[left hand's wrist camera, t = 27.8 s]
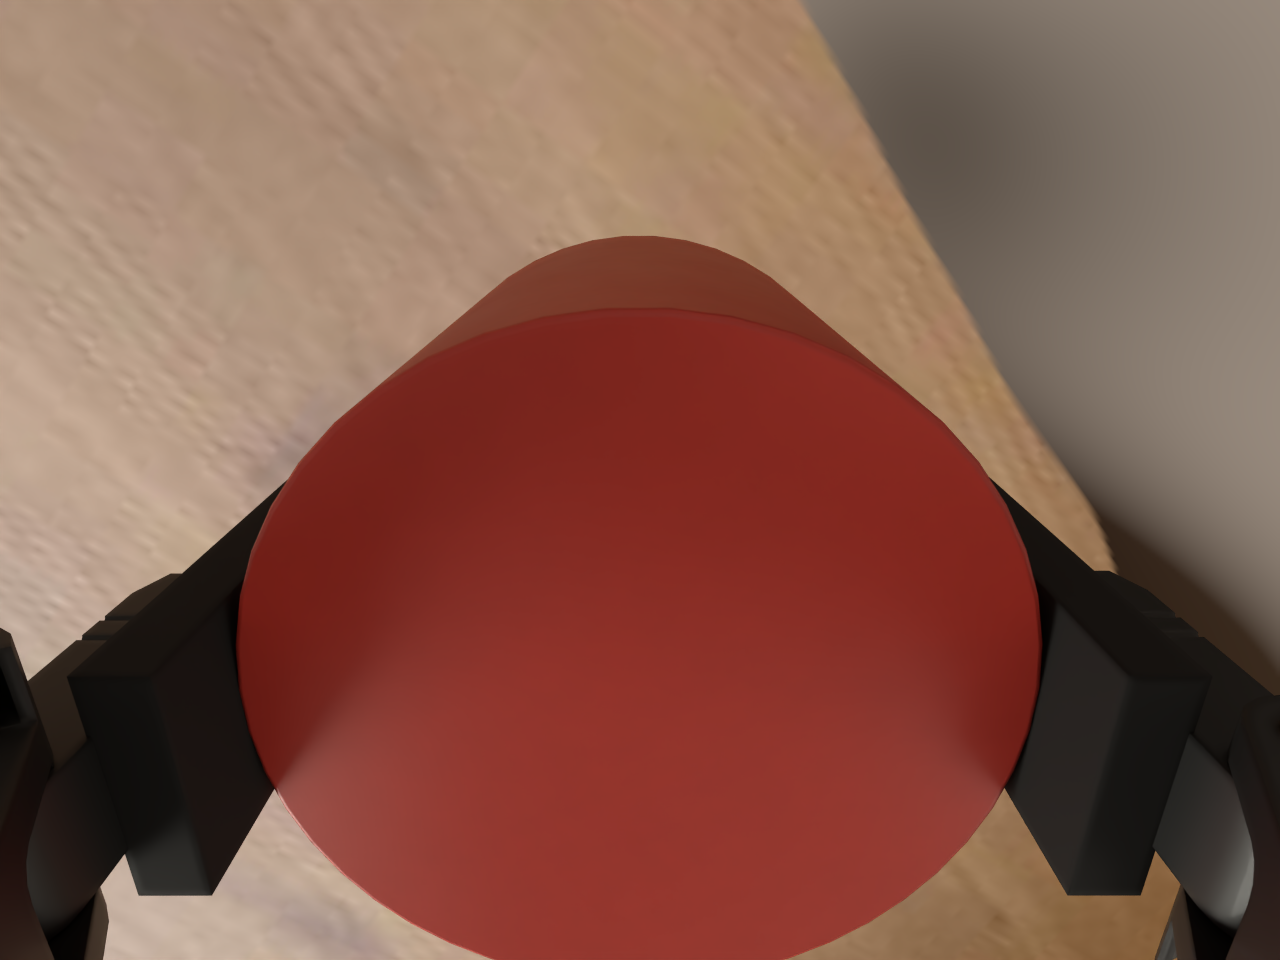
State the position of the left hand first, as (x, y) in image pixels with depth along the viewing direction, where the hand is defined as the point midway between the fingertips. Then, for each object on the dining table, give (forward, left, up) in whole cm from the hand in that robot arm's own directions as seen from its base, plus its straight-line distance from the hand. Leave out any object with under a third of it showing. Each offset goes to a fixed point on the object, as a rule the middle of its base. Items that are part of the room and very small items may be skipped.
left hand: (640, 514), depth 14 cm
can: (0, 0, -3) cm, 3 cm away
